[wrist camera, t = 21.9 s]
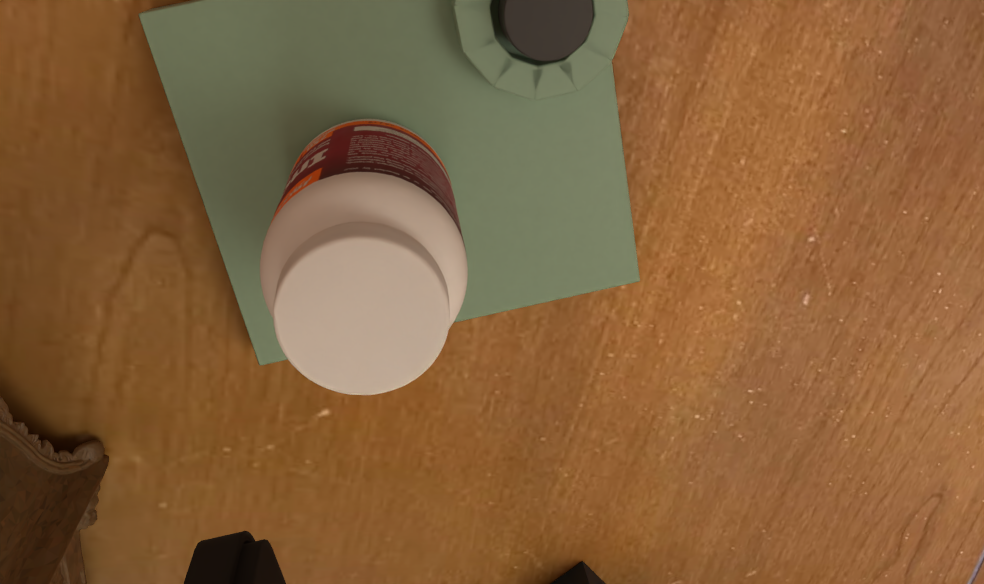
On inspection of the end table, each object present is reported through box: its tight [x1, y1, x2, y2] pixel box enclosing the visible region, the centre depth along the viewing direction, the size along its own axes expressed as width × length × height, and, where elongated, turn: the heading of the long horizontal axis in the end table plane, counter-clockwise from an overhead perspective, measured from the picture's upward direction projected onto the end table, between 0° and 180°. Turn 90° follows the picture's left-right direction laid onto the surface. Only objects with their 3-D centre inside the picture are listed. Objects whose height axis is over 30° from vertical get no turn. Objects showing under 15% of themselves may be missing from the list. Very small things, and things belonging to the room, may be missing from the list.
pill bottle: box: [260, 119, 468, 395], centre depth 28 cm, size 6×6×11 cm
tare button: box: [498, 0, 593, 61], centre depth 29 cm, size 3×3×2 cm
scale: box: [139, 0, 640, 365], centre depth 32 cm, size 16×14×4 cm
